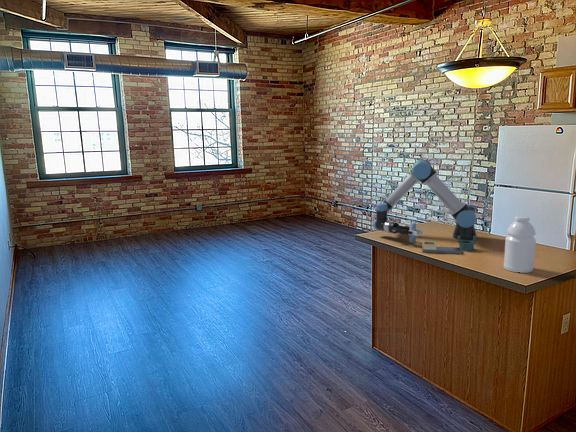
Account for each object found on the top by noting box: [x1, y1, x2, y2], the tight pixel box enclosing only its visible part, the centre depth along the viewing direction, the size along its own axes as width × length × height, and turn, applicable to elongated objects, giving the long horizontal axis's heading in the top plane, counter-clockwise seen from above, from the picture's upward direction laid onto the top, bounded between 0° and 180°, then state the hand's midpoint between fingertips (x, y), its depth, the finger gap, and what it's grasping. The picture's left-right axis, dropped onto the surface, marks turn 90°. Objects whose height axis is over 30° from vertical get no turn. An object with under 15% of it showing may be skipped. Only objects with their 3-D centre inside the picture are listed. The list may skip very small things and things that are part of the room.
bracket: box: [456, 236, 477, 252], centre depth 260 cm, size 9×9×9 cm
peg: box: [408, 222, 417, 243], centre depth 273 cm, size 4×4×12 cm
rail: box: [421, 240, 462, 255], centre depth 257 cm, size 22×8×5 cm, turn 73°
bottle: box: [503, 215, 537, 274], centre depth 219 cm, size 14×14×28 cm
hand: (419, 233), depth 268 cm, fingers closed on peg, 4 cm apart
